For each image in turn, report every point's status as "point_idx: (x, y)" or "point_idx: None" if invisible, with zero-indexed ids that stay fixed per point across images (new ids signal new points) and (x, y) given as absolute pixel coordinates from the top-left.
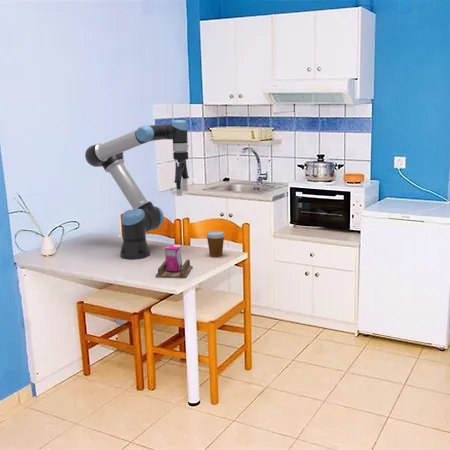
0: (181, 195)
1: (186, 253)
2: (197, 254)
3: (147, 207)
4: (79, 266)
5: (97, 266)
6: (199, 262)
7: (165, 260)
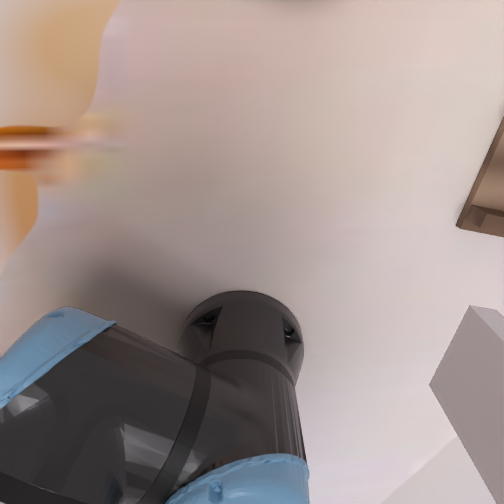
0: (494, 319)
1: (238, 122)
2: (267, 57)
3: (96, 483)
4: (349, 479)
5: (364, 437)
6: (431, 48)
7: (499, 230)
